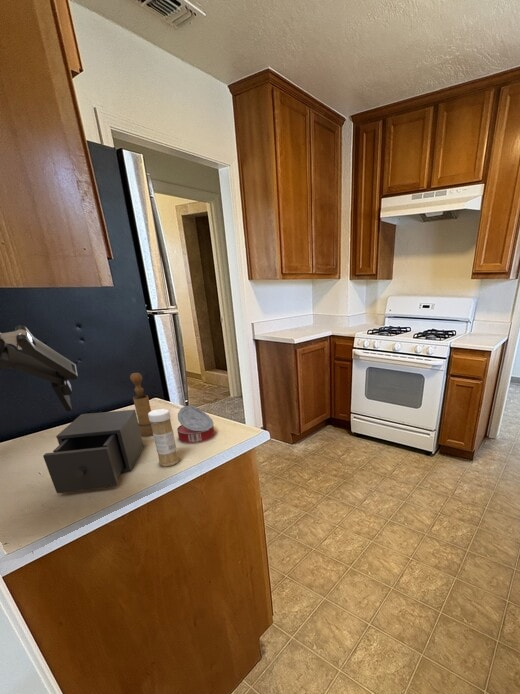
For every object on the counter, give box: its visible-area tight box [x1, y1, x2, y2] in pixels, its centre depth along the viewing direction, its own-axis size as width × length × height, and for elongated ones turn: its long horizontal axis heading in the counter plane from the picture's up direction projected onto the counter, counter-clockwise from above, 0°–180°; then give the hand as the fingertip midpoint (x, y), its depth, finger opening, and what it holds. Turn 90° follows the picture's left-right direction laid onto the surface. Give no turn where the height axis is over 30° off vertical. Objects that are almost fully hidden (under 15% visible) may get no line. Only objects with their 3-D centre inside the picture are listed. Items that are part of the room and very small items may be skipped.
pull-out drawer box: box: [42, 433, 125, 494], centre depth 78 cm, size 15×11×9 cm
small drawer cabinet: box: [55, 409, 145, 473], centre depth 86 cm, size 15×13×11 cm
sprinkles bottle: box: [148, 408, 180, 467], centre depth 84 cm, size 5×5×14 cm
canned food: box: [176, 405, 216, 444], centre depth 101 cm, size 11×10×10 cm
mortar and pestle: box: [129, 372, 153, 438], centre depth 102 cm, size 7×6×18 cm
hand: (18, 413), depth 56 cm, fingers open, 13 cm apart
